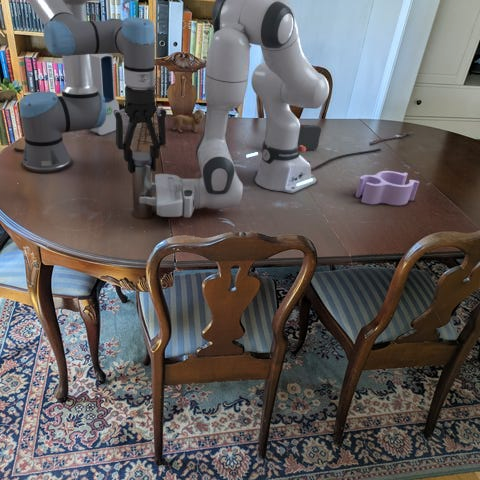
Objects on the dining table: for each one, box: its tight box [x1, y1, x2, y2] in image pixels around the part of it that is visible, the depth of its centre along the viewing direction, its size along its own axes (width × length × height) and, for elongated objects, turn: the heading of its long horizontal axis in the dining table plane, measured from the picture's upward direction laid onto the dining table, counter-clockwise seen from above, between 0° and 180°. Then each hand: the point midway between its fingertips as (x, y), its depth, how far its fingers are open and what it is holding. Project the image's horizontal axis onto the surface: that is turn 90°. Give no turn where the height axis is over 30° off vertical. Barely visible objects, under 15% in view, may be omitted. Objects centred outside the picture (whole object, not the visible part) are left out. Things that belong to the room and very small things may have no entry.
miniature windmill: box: [136, 68, 166, 151], centre depth 171 cm, size 9×8×30 cm
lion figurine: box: [169, 108, 205, 133], centre depth 196 cm, size 15×5×9 cm, turn 110°
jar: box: [131, 163, 153, 219], centre depth 133 cm, size 5×5×18 cm
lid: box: [133, 151, 152, 166], centre depth 128 cm, size 6×6×2 cm
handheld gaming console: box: [297, 124, 322, 151], centre depth 189 cm, size 23×3×10 cm, turn 108°
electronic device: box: [88, 53, 120, 136], centre depth 182 cm, size 12×8×30 cm, turn 148°
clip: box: [355, 170, 420, 206], centre depth 160 cm, size 20×12×7 cm, turn 109°
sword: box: [370, 133, 413, 145], centre depth 213 cm, size 31×3×1 cm, turn 126°
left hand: (141, 170), depth 130 cm, fingers closed on lid, 6 cm apart
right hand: (139, 193), depth 134 cm, fingers closed on jar, 5 cm apart
